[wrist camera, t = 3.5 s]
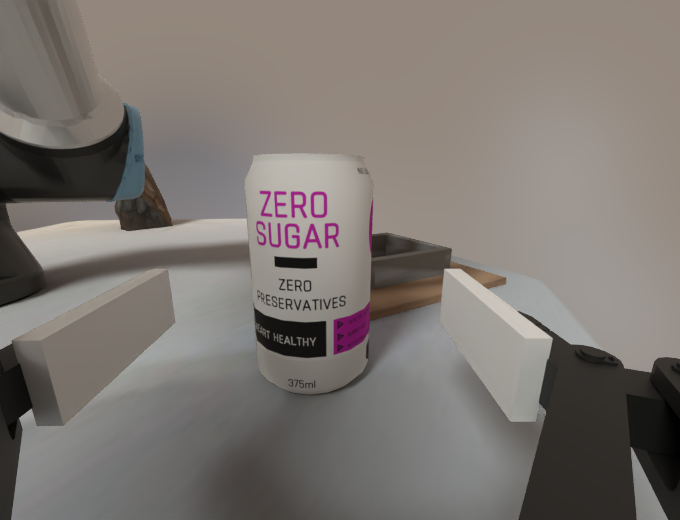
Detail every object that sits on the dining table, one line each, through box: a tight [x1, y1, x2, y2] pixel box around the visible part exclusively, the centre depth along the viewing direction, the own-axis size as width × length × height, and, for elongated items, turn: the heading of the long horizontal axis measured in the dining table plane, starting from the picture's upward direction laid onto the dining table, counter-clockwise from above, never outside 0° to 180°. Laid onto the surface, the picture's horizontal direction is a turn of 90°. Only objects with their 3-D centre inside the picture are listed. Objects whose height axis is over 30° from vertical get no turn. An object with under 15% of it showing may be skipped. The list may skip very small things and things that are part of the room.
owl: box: [115, 163, 173, 231], centre depth 85 cm, size 13×13×20 cm
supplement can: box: [244, 154, 373, 395], centre depth 22 cm, size 8×8×15 cm
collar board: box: [369, 233, 506, 321], centre depth 46 cm, size 24×24×5 cm
